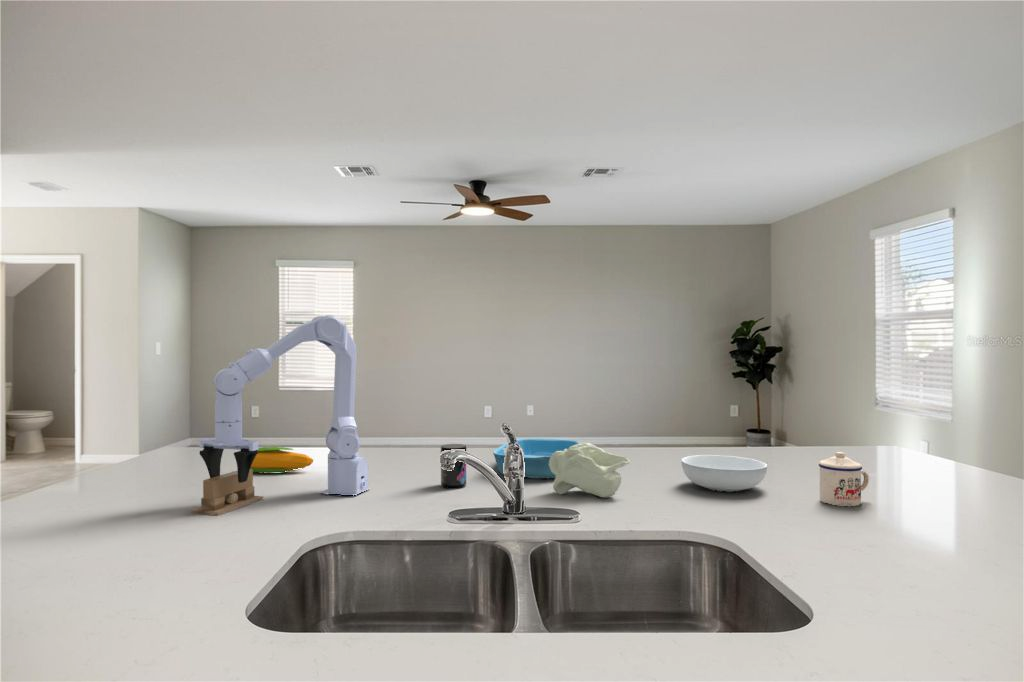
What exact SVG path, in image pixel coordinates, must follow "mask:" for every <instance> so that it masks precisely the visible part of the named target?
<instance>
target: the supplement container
mask: <svg viewBox="0 0 1024 682" xmlns="http://www.w3.org/2000/svg"><path fill="white" fill-rule="evenodd" d="M467 448H468V447H467V444H462V443H449V444H442V445H440V453H441V452H442V451H444V450H451V449H465V451H467ZM440 485H441V487H442V488H444V489H449V488H451V489H452V488H457V489H462V488H465V486H466V485H467V463H466V464H465V463H463V462H459V461H457V462H456V463H455V467H454V470H452V471H447V470H443V469H442V468H441V467H440ZM451 489H450V490H451Z"/></svg>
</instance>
